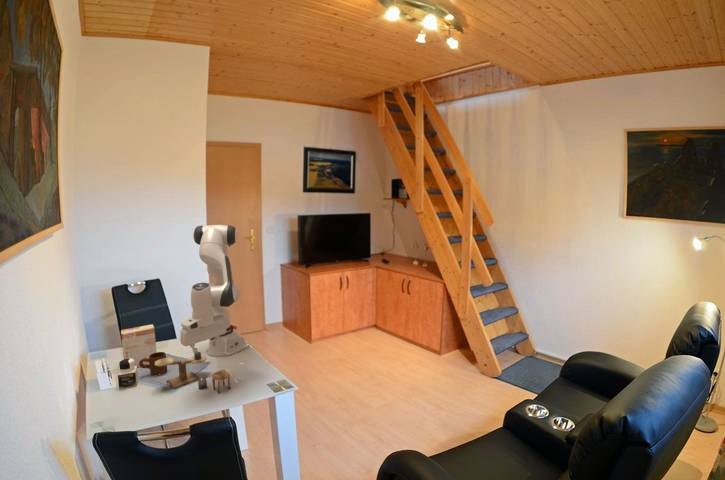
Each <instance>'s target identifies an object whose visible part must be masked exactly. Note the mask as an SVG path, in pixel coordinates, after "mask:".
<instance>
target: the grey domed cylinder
mask: <svg viewBox="0 0 725 480" xmlns="http://www.w3.org/2000/svg"><path fill="white" fill-rule="evenodd" d="M199 377H200V376H199ZM207 382H208V381H207V376H201V377H200V378H198V381H197V385H198V386H197V387H198V390H199V391H203V390H206V389H207V388H208V383H207Z"/></svg>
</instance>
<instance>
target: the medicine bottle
mask: <svg viewBox="0 0 725 480" xmlns="http://www.w3.org/2000/svg"><path fill="white" fill-rule="evenodd" d="M118 366H119V371H118V373H117V380H118V389H119V390H123V389H127V388H133V387H136V386H138V381H139V373H138V372H139V371H138V368H137V366H135V364H134V359H131V358H128V359H124V358H123V359H122V360H120V361H119V365H118Z"/></svg>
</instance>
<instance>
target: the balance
mask: <svg viewBox="0 0 725 480" xmlns="http://www.w3.org/2000/svg"><path fill="white" fill-rule="evenodd" d="M193 354H194V356H192V357H190V358H189V359H188V360H186V359H185V360H183V359H180V360H176V361H175V358H174V357H166V358H162V359H159V360H157V361H156V362H155V366H167V367H168V366H172V365H173V366H175V365H178V374H179V375H178V376H176V377H174V378H171V379H167V380H166V382H167V383H169V384H170V385H171V386H172V387H173V388H172V387H171V386H170V385H169V386H170V387H171V388H172V389H174V390H177V389H180V388H182V387H185V386H187V385H190V384H192V383H195V382H198V378H200V376H199V375H197V374H195V373H194V372H192V371H190V372H187V364H193V365H195V364H201V363H204V362H206V361H207V359H208V357H207V356H206V355H202V352H201V351H198V352H197V353H193ZM167 383H166V384H167Z"/></svg>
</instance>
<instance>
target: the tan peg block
mask: <svg viewBox="0 0 725 480" xmlns="http://www.w3.org/2000/svg"><path fill="white" fill-rule="evenodd" d="M226 380H227V390H231V372H229V371H227V370H226V369H220V370H219V371H215V372H213V373H211V381H212V390H213V391H216V381H217V390H218V391H217V392H218V394H222V390H221V381H222V386H223V387H224V386H226Z"/></svg>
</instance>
